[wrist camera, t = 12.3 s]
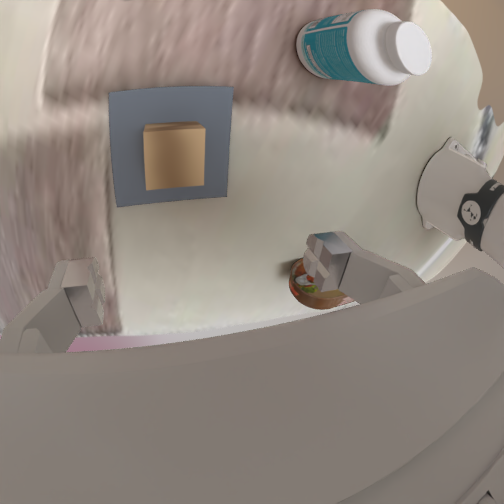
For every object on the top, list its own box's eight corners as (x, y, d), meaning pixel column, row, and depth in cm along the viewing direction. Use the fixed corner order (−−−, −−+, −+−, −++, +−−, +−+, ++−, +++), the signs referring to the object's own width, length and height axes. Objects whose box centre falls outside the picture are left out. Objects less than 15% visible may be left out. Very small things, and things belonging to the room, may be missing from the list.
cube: (196, 121, 24) (205, 128, 21) (195, 168, 27) (203, 185, 23) (145, 124, 23) (143, 132, 19) (147, 172, 26) (146, 190, 22)
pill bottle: (339, 87, 27) (429, 107, 17) (285, 64, 24) (371, 64, 14) (355, 37, 24) (447, 40, 13) (303, 10, 21) (393, -12, 10)
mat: (231, 86, 24) (233, 86, 24) (224, 194, 31) (226, 196, 30) (110, 92, 20) (108, 92, 20) (117, 204, 27) (116, 207, 26)
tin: (362, 247, 44) (393, 278, 37) (357, 263, 46) (386, 294, 39) (280, 260, 39) (308, 300, 33) (278, 277, 41) (303, 318, 35)
